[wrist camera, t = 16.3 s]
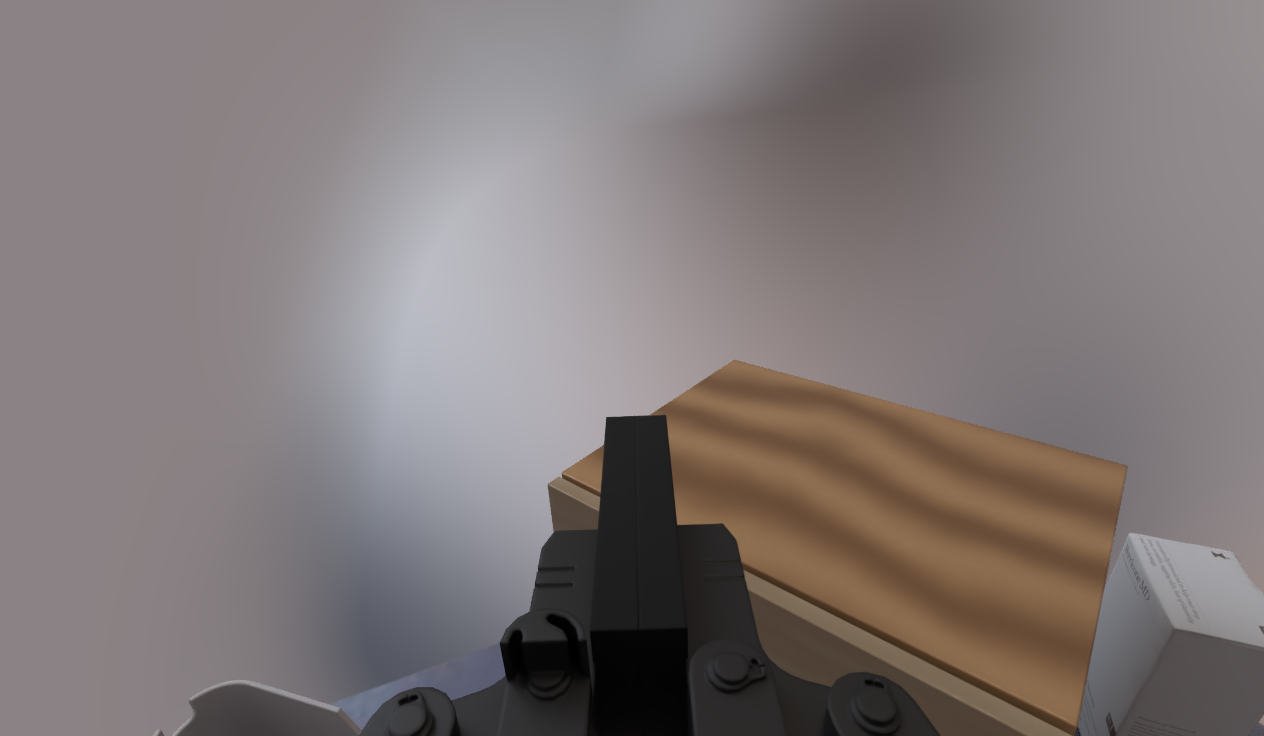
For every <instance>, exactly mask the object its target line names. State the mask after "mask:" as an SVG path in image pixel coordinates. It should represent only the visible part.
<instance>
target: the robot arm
mask: <svg viewBox="0 0 1264 736" xmlns="http://www.w3.org/2000/svg"><path fill="white" fill-rule="evenodd" d="M500 647H501V652H502V658H503V663H504V668H505V673H506V676H505V677H504V678H503V679H501V680H500V681H498V682H497V683H495V684H494V685H492V686H490V687H488V688H486V689H483V690H481V691H479V692H476V693H473V694H470V695H467V696H464V697H461V698H458V699H455V700H452V701H451V700H450V698H449V697H448V696H447V694H446V693H444V692H442V691H440V690H437V689H435V688H433V687H416V688H413V689H410V690H407V691H404V692H401V693H399V694H397V695H396V696H394V697H393V698H391V699H390V700H388V701H387V702H385V703H384V704H383V705H382V706H381V707H380V708H379V709H378V710H377V711H376V712H375V714H374V715H373V716H372V717H371V718H370V720H369V721H368V723H367V724H366V726H365V727H364V729H363V730H362V732H361V733H360V735H359V736H940V734H939V733H938V731H937V730H936V729H935V727H934V726H933V725H932V723H931V722H930V720H929V719H928V718H927V716H926V715H925V714H924V712H923V711H922V709H921V708H920V707H919V705H918V704H917V703H916V701H915V700H914V699H913V698H912V697H911V696H910V695H909V694H908V693H907V692H906V691H905V690H904V689H903V688H902V687H901V686H900V685H898V684H896V683H895V682H893V681H891V680H889V679H888V678H886V677H884V676H881V675H877V674H873V673H869V672H856V673H849V674H847V675H845V676H843V677H841V678H839V679H837V680H836V681H835V683H834V684H833V686H832V687H830V686H826V685H822V684H818V683H815V682H811V681H807V680H804V679H801V678H798V677H795V676H793V675H790V674H789V673H787V672H785V671H784V670H782V669H781V668H779V667H778V666H777V665H776V664H775V663H774V662H773V661H771V660H770V659H769V657H768V656H767V654H766V653H765V651H764V650H763V648H762V645H761V643H760V640H759V637H758V632H757V628H756V623H755V619H754V615H753V610H752V606H751V601H750V597H749V592H748V588H747V584H746V580H745V575H744V570H743V566H742V563H741V557H740V553H739V548H738V544H737V540H736V539H735V537H734V536H733V535H732V534H731V533H730V531H729V530H728V529H727V528H726V527H725V525H724V524H723V523H719V524H690V525H677V517H676V507H675V497H674V487H673V477H672V467H671V457H670V447H669V437H668V427H667V417H666V415H650V416H624V417H606V429H605V441H604V454H603V467H602V480H601V493H600V506H599V519H598V529H593V530H565V531H554V533H553V534H552V535H551V537H550V538H549V539H548V541H547V542H546V543H545V545H544V546H543V547H542V550H541V555H540V560H539V565H538V572H537V576H536V581H535V589H534V591H533V596H532V601H531V607H530V612H528V613H526V614H525V615H522V616H520V617H519V618H517V619H516V620H515V621H514V622H513V623H512V624H511V625H510V626H509V627H508V628H507V629H506V631H505V633H504V635H503V637H502V639H501V641H500Z"/></svg>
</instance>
